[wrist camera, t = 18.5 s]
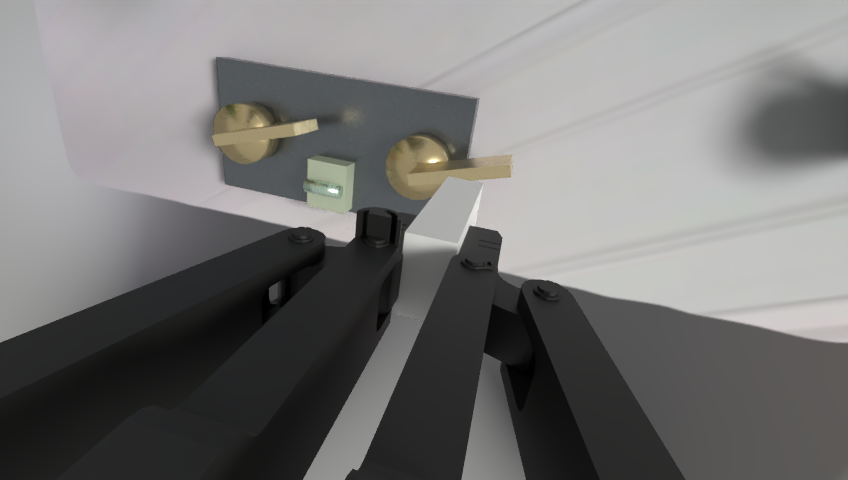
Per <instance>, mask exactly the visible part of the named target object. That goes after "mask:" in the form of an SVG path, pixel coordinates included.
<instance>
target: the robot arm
mask: <svg viewBox="0 0 848 480" xmlns="http://www.w3.org/2000/svg"><path fill="white" fill-rule="evenodd" d="M482 188H483V183H480V182H475V181H470V180H465V179H460V178H455V177H449V176H448V177H447V179H446V180H445V181H444V182H443V184H442V185H441V186H440V188H439V189H438V190H437V191H436V193H435V194H434V195H433V197H432V198H431V199H430V200H429V202H428V203H427V204H426V206H425V207H424V208H423V209H422V211H421V212H420V213H419V214H418V215H413V214H409V213H404V212H400V213H398V212H396V211H394V210H391V209H387V208H381V207H367V208H362V209H360V210H358V211H357V219H356V234H355V238H354V239H353V240H352V241H351V242H350V243H349V244H348V245H347V246H346V247H333V246H325V244H326V237H325V235H324V234H323V233H322V232H320V231H318V230H314V229H311V228H308V227H306V228H305V227H298V228H291V229H288V230H284V231H281V232H279V233H276V234H274V235H271V236H269V237H266V238H264V239H261V240H258V241H256V242H253V243H251V244H248V245H246V246H243V247H241V248H238V249H236V250H233V251H231V252H228V253H226V254H223V255H221V256H218V257H216V258H213V259H210V260H208V261H205V262H203V263H200V264H198V265H196V266H193V267H190V268H188V269H185V270H183V271H180V272H178V273H176V274H173V275H170V276H168V277H165V278H163V279H160V280H158V281H155V282H153V283H150V284H147V285H145V286H142V287H140V288H137V289H135V290H132V291H130V292H127V293H125V294H122V295H120V296H117V297H115V298H112V299H109V300H107V301H104V302H102V303H99V304H97V305H94V306H92V307H89V308H87V309H84V310H82V311H79V312H77V313H74V314H72V315H69V316H67V317H64V318H62V319H59V320H56V321H54V322H51V323H49V324H46V325H44V326H41V327H39V328H36V329H34V330H31V331H29V332H26V333H24V334H21V335H19V336H16V337H14V338H11V339H9V340H6V341H3V342H1V343H0V480H303V478H304V476H305V475H306V473H307V470H308V469H309V467H310V466H311V464H312V462H313V460H314V458H315V457H316V455H317V453H318V451H319V449H320V447H321V446H322V444H323V442H324V440H325V438H326V437H327V435H328V433H329V431H330V429H331V428H332V426H333V424H334V422H335V421H336V419H337V417H338V415H339V413H340V411H341V410H342V408H343V406H344V404H345V402H346V401H347V399H348V397H349V395H350V393H351V392H352V390H353V388H354V386H355V384H356V383H357V381H358V379H359V377H360V375H361V374H362V372H363V370H364V368H365V366H366V364H367V363H368V361H369V359H370V357H371V356H372V354H373V352H374V350H375V348H376V347H377V345H378V343H379V341H380V339H381V337H382V336H383V334H384V332H385V330H386V328H387V327H388V325H389V323H390V318H391V311H392V307H393V305H394V303H395V302H396V309H395V314H397V315H401V316H405V317H408V318H413V319H416V320H420V321H424V322H423V325H422V327H421V329H420V332H419V334H418V336H417V338H416V341H415V343H414V345H413V348H412V350H411V352H410V355H409V357H408V359H407V361H406V364H405V366H404V369H403V371H402V373H401V376H400V378H399V380H398V382H397V385H396V387H395V389H394V391H393V394H392V396H391V398H390V401H389V403H388V406H387V408H386V410H385V412H384V415H383V417H382V419H381V421H380V424H379V426H378V428H377V431H376V433H375V435H374V438H373V440H372V442H371V445H370V447H369V449H368V452H367V454H366V456H365V459H364V461H363V463H362V465H361V467H360V468H359V470H358V471H357V470H354V469H352V471H351V472H350V473H349V474H348V475H347V477H346V479H345V480H461V478H462V473H463V466H464V461H465V455H466V450H467V444H468V438H469V432H470V427H471V421H472V415H473V409H474V404H475V398H476V392H477V387H478V381H479V375H480V369H481V363H482V358H483V352H484V353H486V354H488V355H490V356H492V357H494V358H496V359H498V360H500V361H501V365H500V372H501V376H502V380H503V384H504V389H505V393H506V397H507V401H508V406H509V409H510V414H511V418H512V422H513V427H514V431H515V435H516V439H517V443H518V448H519V452H520V456H521V460H522V465H523V469H524V473H525V477H526V480H685V478H684V477H683V475H682V473H681V472H680V470H679V468H678V467H677V465H676V463H675V462H674V460H673V459H672V457H671V456H670V454H669V452H668V450H667V449H666V447H665V446H664V444H663V442H662V441H661V439H660V437H659V436H658V434H657V432H656V431H655V429H654V428H653V426H652V425H651V423H650V421H649V419H648V418H647V416H646V415H645V413H644V411H643V410H642V408H641V406H640V405H639V403H638V401H637V400H636V399H635V396H634V395H633V393H632V392H631V390H630V388H629V387H628V385H627V383H626V382H625V380H624V379H623V377H622V375H621V374H620V372H619V370H618V369H617V367H616V366H615V364H614V362H613V360H612V359H611V357H610V356H609V354H608V352H607V351H606V350H605V347H604V346H603V344H602V342H601V341H600V339H599V338H598V336H597V334H596V333H595V331H594V329H593V328H592V326H591V325H590V323H589V321H588V320H587V318H586V316H585V315H584V313H583V311H582V310H581V308H580V306H579V305H578V303H577V302H576V300H575V298H574V297H573V295H572V294H571V293H570V292H569V291H568V290H567V289H565V288H563V287H562V286H560V285H559V284H557V283H553V282H552V281H548V280H547V281H545V280H528V281H525V282H524V283H523V284H522V286H521V289H520V288H517V287H515V286H513V285H511V284H509V283H507V282H506V281H504V280H503V279H502V278H501V277H500V276H499V274H498V273H497V272H498V267H497V266H498V261H499V255H500V249H501V243H502V237H501V235H500V234H499V233H498V231H494V230H489V229H484V228H480V227H475V224H476V219H477V214H478V209H479V204H480V199H481V193H482ZM276 283H278V298H277V299H275V300H273V301H270V300H269V288H270V287H271V286H272V285H274V284H276Z"/></svg>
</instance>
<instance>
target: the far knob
mask: <svg viewBox="0 0 848 480" xmlns="http://www.w3.org/2000/svg"><path fill="white" fill-rule="evenodd" d="M315 130H319V129H318V124H317V120H316V119H309V120H302V121H295V122H288V123H281V124H277V123H276V120H275V119H274V117H273V116H272V114H271V113H270V112H269V111H268V110H267V109H266V108H264V107H263V106H261V105H259V104H257V103H253V102H246V103H237V104H229V105H226V106H224V107H222V108H221V109H220V110H219V111H218V113H217V114H216V116H215V119H214V124H213V131H214V135H212V138H213V141H214V144H215V146H219V148H220V149H221V151H222V152H223V153H224V154H225V155H226V156H227V157H228V158H230V159H231V160H233V161H235V162H237V163H241V164H250V163H253V162H256V161H259V160H262V159H265V158H268V157H270V156H271V155H272V154H273V153H274V152H275V151H276V149H277V147H278V144H279V138H283V137H290V136H297V135H301V134H304V133H308V132H311V131H315Z"/></svg>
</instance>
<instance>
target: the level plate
mask: <svg viewBox="0 0 848 480" xmlns="http://www.w3.org/2000/svg"><path fill="white" fill-rule="evenodd" d="M217 72H218V87H219V102H220V109H221V108H222V107H224V106H226V105H229V104H237V103H246V102H253V103H257V104H259V105H261V106H263V107H264V108H266V109H267V110H268V111H269V112H270V113H271V114H272V116H273V117H274V119H275V120H276V123H277V124H281V123H288V122H295V121H302V120H309V119H316V120H317V124H318V129H319V130H315V131H311V132H308V133H304V134H301V135H297V136H290V137H283V138H279V144H278V147H277V149H276V151H275V152H274V153H273V154H272V155H271V156H270V157H268V158H265V159H262V160H259V161H256V162H253V163H250V164H241V163H237V162H235V161H233V160H231V159H230V158H228V157H227V156H226V155H225V154H224V153H223V161H224V176H225V184H227V185H232V186H236V187H241V188H245V189H250V190H254V191H259V192H263V193H268V194H272V195H277V196H282V197H286V198H291V199H295V200H300V201H304V202H307V206H310V207H314V208H319V209H323V210H328V211H332V212H337V213H341V214H345V213H346V212H347V211H350V212H354V213H357V211H358V210H360V209H362V208H367V207H381V208H387V209H391V210H394V211H396V212H398V213H400V212H404V213H409V214H413V215H418V214H419V213H420V212H421V211H422V209H423V208H424V207H425V206H426V204H427V203H428V202H429V200H430V199H431V198H432V197H433V196H432V197H430V198H428V199H424V200H412V199H409V198H406V197H404V196H402V195H401V194H399V193H398V192H397V191H396V190H395V189H394V188H393V187H392V185H391V184H390V182H389V180H388V177H387V174H386V160H387V156H388V154H389V152H390V150H391V149H392V148H393V146H394V145H395V144H397V143H398V142H399V141H401V140H403V139H405V138H407V137H409V136H411V135H414V134H420V133H423V134H429V135H432V136H434V137H436V138H438V139H439V140H440V141H441V142H443V144H444V145H445V146H446V147H447V149H448V151H449V153H450V156H451V161H452V160H462V159H469V154H470V148H471V143H472V137H473V132H474V126H475V121H476V115H477V109H478V104H479V98H474V97H468V96H462V95H456V94H450V93H444V92H437V91H431V90H425V89H419V88H413V87H407V86H400V85H394V84H388V83H382V82H376V81H370V80H363V79H357V78H351V77H345V76H339V75H333V74H326V73H320V72H314V71H308V70H302V69H296V68H290V67H283V66H277V65H271V64H265V63H259V62H253V61H246V60H240V59H234V58H228V57H217Z"/></svg>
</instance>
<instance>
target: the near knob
mask: <svg viewBox="0 0 848 480" xmlns="http://www.w3.org/2000/svg"><path fill="white" fill-rule="evenodd" d="M512 169H513V158H512V155H502V156H492V157H482V158H472V159H462V160H452V161H451V156H450V153H449V151H448V149H447V147H446V146H445V145H444V144H443V142H441V141H440V140H439V139H438V138H436V137H434V136H432V135H429V134H423V133H420V134H414V135H411V136H409V137H407V138H405V139H403V140H401V141H399V142H398V143H397V144H395V145H394V146H393V148H392V149H391V150H390V152H389V154H388V156H387V160H386V174H387V177H388V180H389V182H390V184H391V185H392V187H393V188H394V189H395V190H396V191H397V192H398V193H399V194H401V195H402V196H404V197H406V198H409V199H412V200H424V199H428V198H430V197H432V196H433V195H434V194H435V193H436V191H437V190H438V189H439V188H440V186H441V185H442V184H443V182H444V181H445V180H446V179H447V177H448V176H449V177H455V178H460V179H465V180H470V181H472V180H484V179H496V178H508V177H511V174H512Z"/></svg>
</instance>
